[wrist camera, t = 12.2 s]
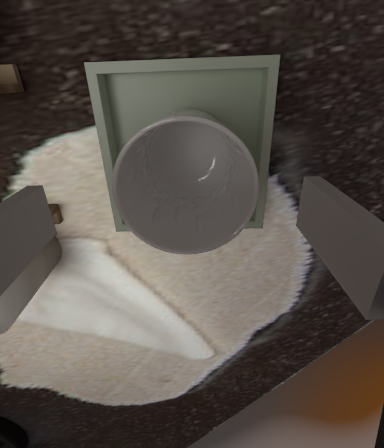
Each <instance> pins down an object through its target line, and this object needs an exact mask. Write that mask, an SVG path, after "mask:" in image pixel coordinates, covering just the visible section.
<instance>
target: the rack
mask: <svg viewBox="0 0 384 448" xmlns="http://www.w3.org/2000/svg"><path fill="white" fill-rule="evenodd" d="M15 92H25V91H24V88H23V85H22V81H21V78H20V74H19V71H18V68H17V65H14V64H9V65H0V94H2V93H15ZM48 205H49V208H50V212H51V215H52V218H53V222H54V224H60V223H61V222H62V218H61V214H60V211H59V208H58V204H48Z"/></svg>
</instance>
